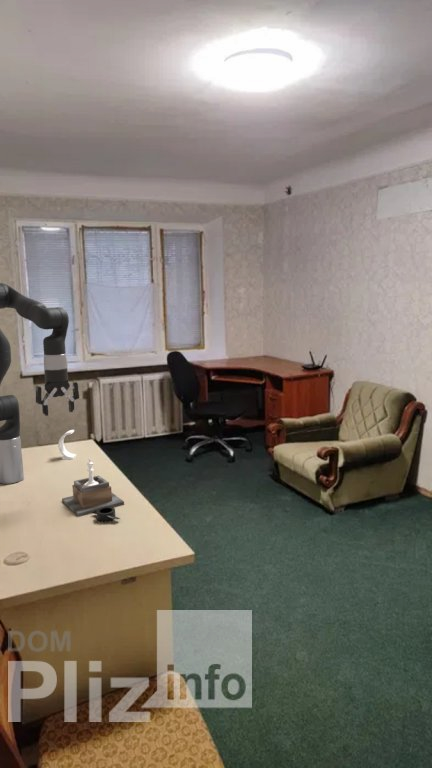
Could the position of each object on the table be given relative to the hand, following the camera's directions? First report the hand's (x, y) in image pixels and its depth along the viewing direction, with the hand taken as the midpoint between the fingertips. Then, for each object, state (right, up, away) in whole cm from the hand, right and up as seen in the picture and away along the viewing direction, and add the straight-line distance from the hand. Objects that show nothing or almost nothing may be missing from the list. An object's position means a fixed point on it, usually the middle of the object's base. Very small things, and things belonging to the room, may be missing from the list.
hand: (58, 413), depth 185 cm
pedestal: (+12, -30, -1) cm, 33 cm away
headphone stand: (-11, -22, +50) cm, 56 cm away
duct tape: (+19, -33, -14) cm, 41 cm away
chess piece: (+12, -25, -2) cm, 27 cm away
